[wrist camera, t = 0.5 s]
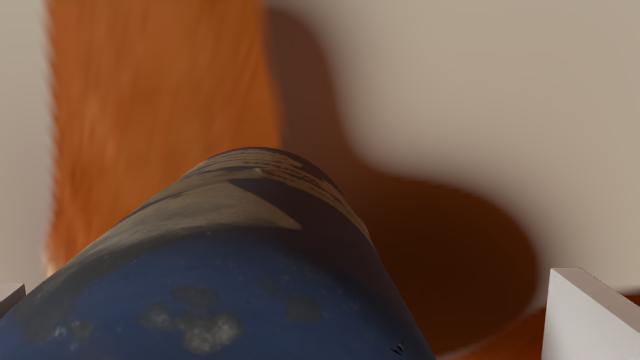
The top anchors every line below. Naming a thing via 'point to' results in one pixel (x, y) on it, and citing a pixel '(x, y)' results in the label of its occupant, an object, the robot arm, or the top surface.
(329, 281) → the dark blue canister
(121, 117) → the top surface
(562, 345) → the robot arm
